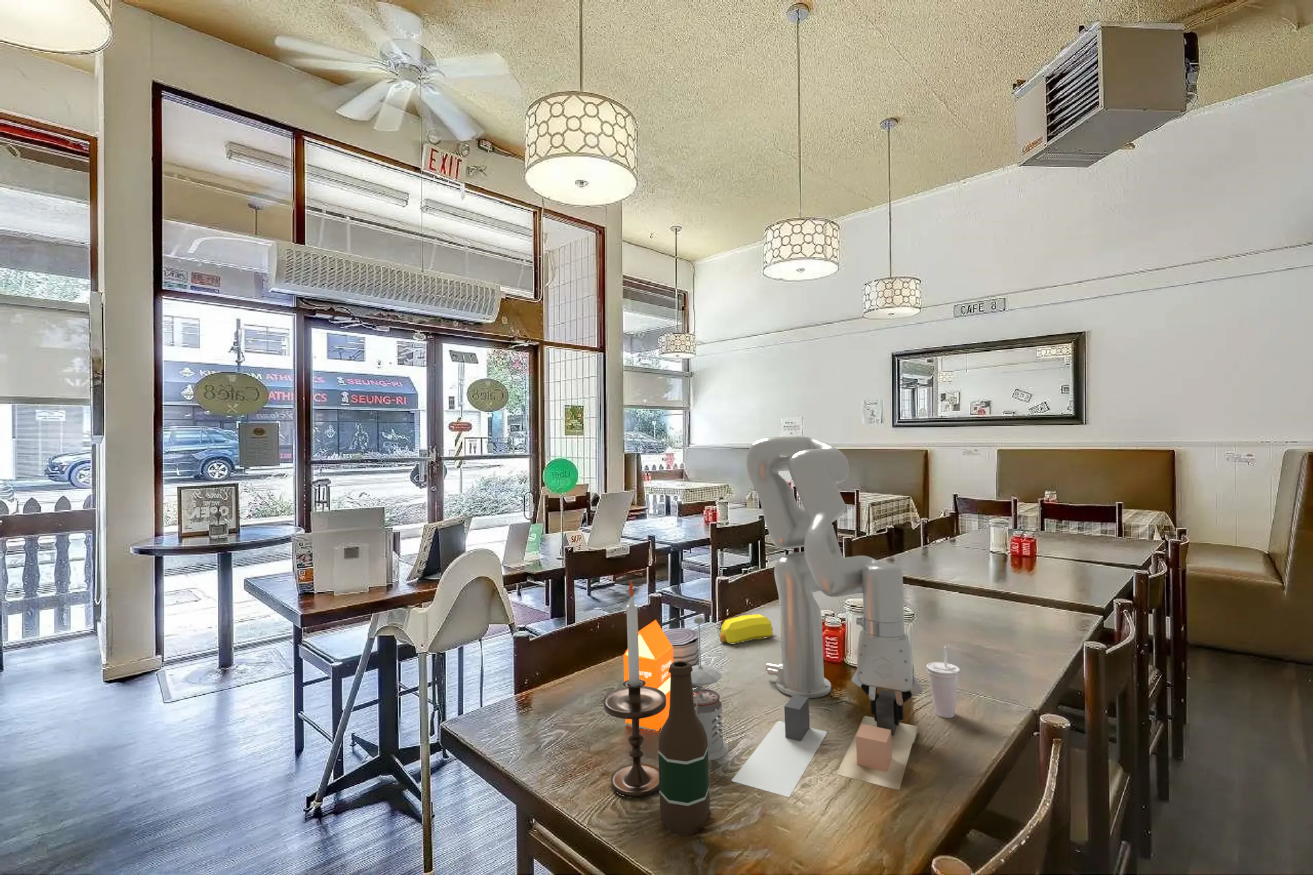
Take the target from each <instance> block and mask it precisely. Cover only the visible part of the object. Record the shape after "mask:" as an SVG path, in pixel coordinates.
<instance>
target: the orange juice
mask: <svg viewBox="0 0 1313 875" xmlns="http://www.w3.org/2000/svg"><path fill="white" fill-rule="evenodd" d="M663 631H664V630H663V628H662V627H661V626H660V624H659V623H658V621H657V619H655V620H653V621H651V622H650V623H649V624H647V625H645V626H644V627H643V628H641V629H640V630H638V646H639V678H640V679H641V680H644V681H645V682H646V684H645V685H644V686H648V687H653V688H656V689H659V690H661V691H662V692H663V693H664V694H665V696H666V707H665V708H664V710H662V711H661V712H660V713H658V714H656V715H654V716H651V717H647V718H642V719H639V726H641V727H646V728H649V729H655V730H656V731H659V729H660V728H661V727H662V726H663V725H664V724H665V722H666V720H667V718H668V715H669V708H670V679H671V673H670V672H668V671H669V667H670V665H671V664H672V663H673V646H672V645H671V644H670V642H669V640H668V639H667V637H666V635H665V634H664V632H663ZM622 656H623V679H624V680H623V681H624V682H625V681H627V680H629V670H628V648H627V649H626V650H625V652H624V654H623V655H622ZM624 682H623V683H624ZM626 723H629V724H632V719H625V724H626ZM661 729H662V728H661ZM659 732H660V731H659Z"/></svg>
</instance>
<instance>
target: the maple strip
mask: <svg viewBox="0 0 1313 875" xmlns="http://www.w3.org/2000/svg"><path fill="white" fill-rule="evenodd" d="M878 694H879V696H878V698H877V700H876V717H877V721H875V720H874V717H873V716H869V715H868V716H867V715H864V716H863V717H862V720H861V722H860V723H859V726H858V728H857V730H856V733H855V735H854V737H853V739H852V740H851V743H850V745H849V746H848V749H847V751H846V753H845V755H844V757H843V759H842V761H841V763H840V765H839V767H838V769H837V771H836V774H835V775H838V776H842V777H844V778H849V779H852V780H856V781H857V780H858V781H861V782H864V783H869V784H873V785H876V786H881V787H884V788H888V789H892V790H896V791H900V789H901V785H902V783H903V778H904V774H905V771H906V768H907V765H908V761H909V757H910V754H911V749H912V747H913V744H915V742H916V740H917V739H916V738H917V735H918V731H919V730H918V726H917V725H912V724H907V723H902V722H900V723H899V726H897V725H895V723H894V704H895V700H896V696H895V691H893V690H888V689H880V692H879V693H878ZM861 724H865V725H870V726H874V727H879V728H884V729H889V730H891V743H892V760H891V763H890V766H889V769H888V772H884V771H880V770H876V769H872V768H868V767H864V766H859V765H857V751H856V735H857V733H858V731H859V729H860V727H861Z"/></svg>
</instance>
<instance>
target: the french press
mask: <svg viewBox="0 0 1313 875" xmlns="http://www.w3.org/2000/svg"><path fill="white" fill-rule="evenodd" d="M693 623H694V624H696V625H698V642H699V665H696V666H692V669H693V671H692V672H691V679H692V685H697V686H698V687H700V688H696V689H694V690H693V689H692V690H693V701H694V708H695V713H696V716H697V717H698V719H699V720H700V722H701V723H702V724H703V727H704V729H705V732H706V734H707V742H708V761H714V760H717V759H720V758H721V757H723V756H725V755H726V754H727V752H728V751H729V744H728V743H727V742H726V741H725V739H724V736H722V735H723V734H724V733H723V729H722V728H723V723H722V722H721V721H723V716H722V715H721V714H723V707H722V706H723V705H722V704H723V703H722V701H720V699H721V698H720V697H721V696H720V694H719V693H718V692H717V691H715V690H713V689H709V688H702V686H708V685H712V684H715V683H718V682H719V681H720V679H722V673H721V672H720V670H718V669H716V668H714V667H713V666H710V665H705V664H701V663H702V661H701V658H702V657H701V629H700V624H704V618H703V617H702V616H701V615H699V616H698V615H697V616H694V618H693ZM717 731H719V732H717Z"/></svg>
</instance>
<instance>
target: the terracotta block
mask: <svg viewBox="0 0 1313 875" xmlns="http://www.w3.org/2000/svg"><path fill="white" fill-rule="evenodd" d="M860 724H861V723H860ZM856 751H857V765H859V766H864V767H868V768H872V769H876V770H880V771H884V772H888V769H889V766H890V763H891V760H892V743H891V730H889V729H884V728H879V727H874V726H870V725H865V724H861V727H860V729H859V731H858V733H857V735H856Z"/></svg>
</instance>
